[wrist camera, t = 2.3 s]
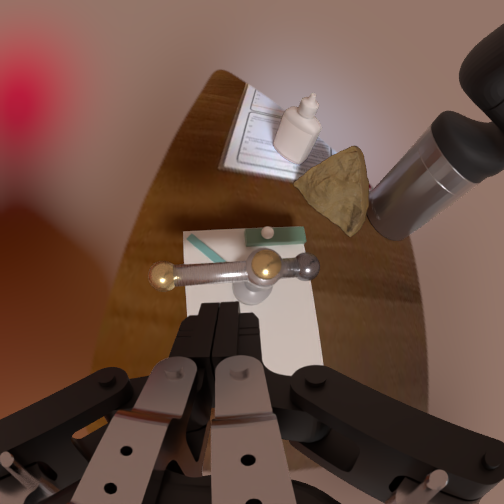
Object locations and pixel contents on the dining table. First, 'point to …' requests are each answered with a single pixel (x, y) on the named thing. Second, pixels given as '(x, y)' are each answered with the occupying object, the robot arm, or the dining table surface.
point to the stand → (261, 293)
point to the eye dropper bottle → (298, 131)
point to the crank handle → (236, 271)
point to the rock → (339, 189)
